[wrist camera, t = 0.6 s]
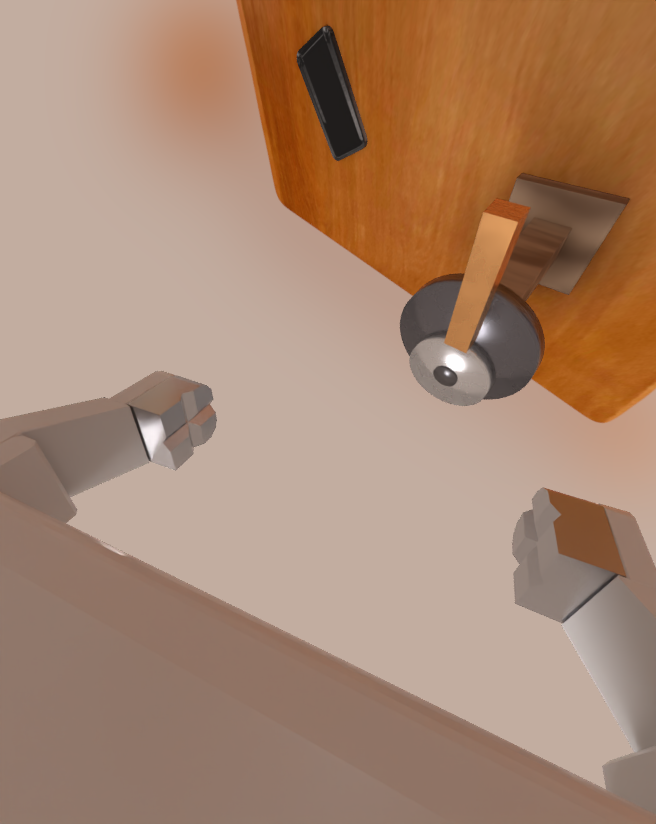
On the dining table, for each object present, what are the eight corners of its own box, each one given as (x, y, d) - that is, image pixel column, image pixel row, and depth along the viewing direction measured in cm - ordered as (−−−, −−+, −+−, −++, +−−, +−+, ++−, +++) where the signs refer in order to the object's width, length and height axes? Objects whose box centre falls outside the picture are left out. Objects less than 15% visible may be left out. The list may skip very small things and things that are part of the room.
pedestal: (515, 157, 45) (408, 262, 35) (653, 188, 39) (569, 324, 29) (479, 265, 58) (394, 361, 49) (577, 300, 52) (502, 418, 43)
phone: (326, 22, 47) (366, 146, 56) (331, 20, 47) (370, 144, 56) (293, 55, 53) (334, 162, 61) (298, 52, 53) (338, 160, 62)
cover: (452, 186, 27) (437, 199, 27) (584, 222, 24) (572, 238, 23) (413, 371, 48) (404, 382, 47) (480, 406, 44) (471, 419, 43)
